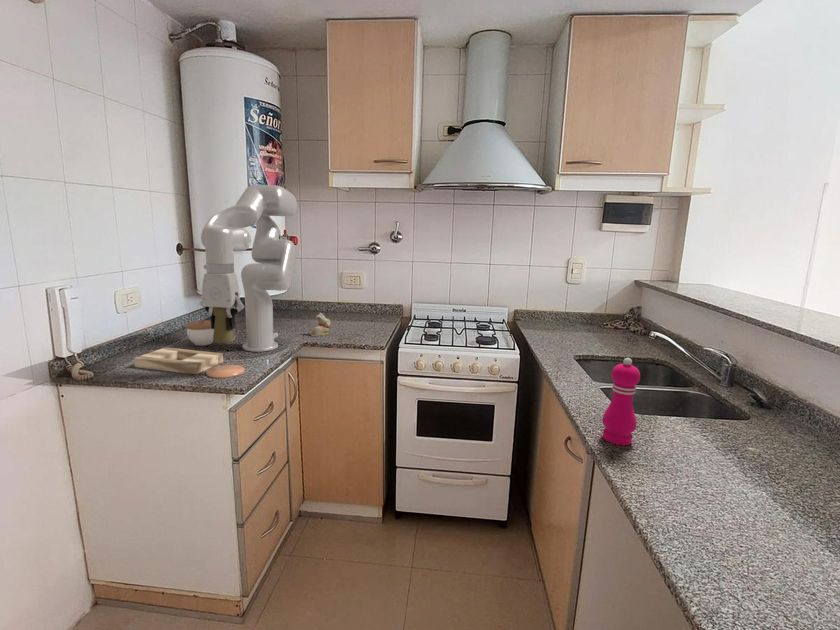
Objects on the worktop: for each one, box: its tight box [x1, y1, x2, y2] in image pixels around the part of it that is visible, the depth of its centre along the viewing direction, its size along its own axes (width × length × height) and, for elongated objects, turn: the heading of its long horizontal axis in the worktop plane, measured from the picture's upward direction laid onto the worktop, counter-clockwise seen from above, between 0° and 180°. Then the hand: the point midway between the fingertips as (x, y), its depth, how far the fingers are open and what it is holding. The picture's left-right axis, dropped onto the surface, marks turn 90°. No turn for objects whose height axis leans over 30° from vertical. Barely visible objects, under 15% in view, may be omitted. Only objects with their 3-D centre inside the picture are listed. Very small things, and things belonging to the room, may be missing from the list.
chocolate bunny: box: [309, 312, 332, 336], centre depth 185 cm, size 6×8×10 cm
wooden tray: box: [133, 347, 224, 375], centre depth 142 cm, size 13×22×3 cm, turn 78°
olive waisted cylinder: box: [212, 307, 235, 344], centre depth 134 cm, size 6×6×11 cm
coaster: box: [205, 364, 246, 379], centre depth 137 cm, size 11×11×1 cm
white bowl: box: [185, 318, 214, 346], centre depth 166 cm, size 11×11×9 cm
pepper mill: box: [601, 357, 641, 447], centre depth 101 cm, size 7×7×20 cm
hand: (223, 328), depth 134 cm, fingers closed on olive waisted cylinder, 4 cm apart
